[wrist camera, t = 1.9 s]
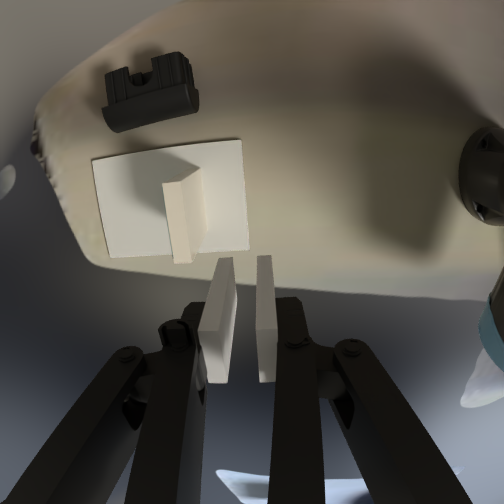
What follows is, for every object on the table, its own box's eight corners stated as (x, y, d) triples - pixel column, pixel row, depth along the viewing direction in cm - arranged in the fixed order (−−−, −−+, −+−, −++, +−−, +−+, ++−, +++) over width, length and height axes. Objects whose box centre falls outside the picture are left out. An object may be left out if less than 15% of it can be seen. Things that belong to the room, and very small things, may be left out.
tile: (200, 167, 36) (180, 181, 27) (207, 230, 39) (192, 262, 30) (184, 169, 36) (159, 183, 27) (192, 231, 39) (172, 263, 30)
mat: (241, 139, 35) (241, 139, 35) (249, 248, 40) (249, 249, 40) (94, 160, 36) (92, 161, 36) (112, 256, 41) (110, 257, 41)
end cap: (128, 132, 35) (104, 134, 29) (120, 82, 32) (96, 75, 26) (203, 114, 34) (191, 111, 28) (194, 61, 31) (181, 48, 25)
